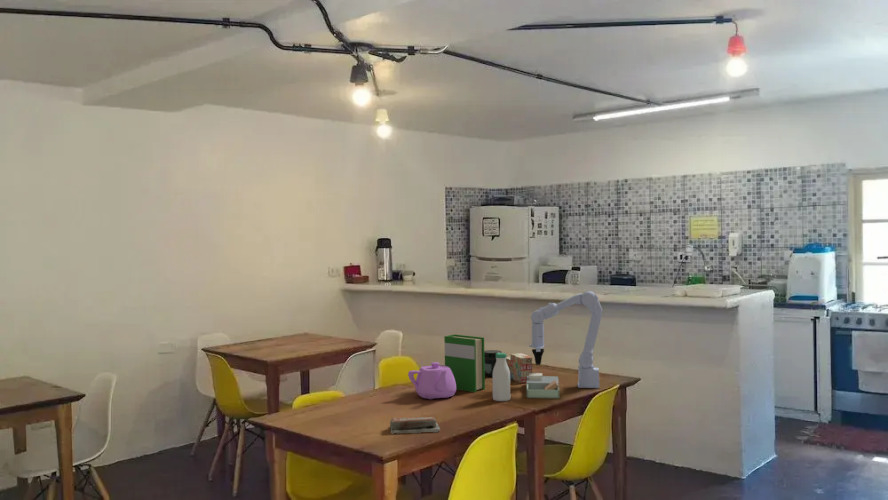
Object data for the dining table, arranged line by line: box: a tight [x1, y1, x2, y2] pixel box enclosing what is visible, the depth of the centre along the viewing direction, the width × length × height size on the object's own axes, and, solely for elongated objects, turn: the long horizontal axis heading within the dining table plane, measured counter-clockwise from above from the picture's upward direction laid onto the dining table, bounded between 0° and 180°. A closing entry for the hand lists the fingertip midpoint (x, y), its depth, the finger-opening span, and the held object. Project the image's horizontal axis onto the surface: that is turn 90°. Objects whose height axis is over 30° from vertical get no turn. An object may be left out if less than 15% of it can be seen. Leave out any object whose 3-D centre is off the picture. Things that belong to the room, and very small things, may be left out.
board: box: [525, 375, 560, 390], centre depth 330 cm, size 14×15×4 cm
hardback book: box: [443, 334, 486, 393], centre depth 332 cm, size 18×7×24 cm, turn 50°
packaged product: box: [389, 416, 441, 435], centre depth 265 cm, size 18×5×10 cm
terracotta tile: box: [544, 380, 560, 390], centre depth 319 cm, size 6×6×2 cm
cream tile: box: [529, 372, 543, 380], centre depth 332 cm, size 6×6×2 cm
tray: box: [526, 384, 560, 399], centre depth 317 cm, size 14×12×4 cm
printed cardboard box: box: [506, 352, 533, 384], centre depth 353 cm, size 21×6×12 cm, turn 18°
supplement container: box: [484, 349, 503, 378], centre depth 362 cm, size 10×10×12 cm
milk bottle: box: [492, 352, 512, 402], centre depth 309 cm, size 8×8×20 cm
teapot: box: [407, 361, 457, 400], centre depth 314 cm, size 23×21×15 cm
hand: (538, 364), depth 338 cm, fingers closed
